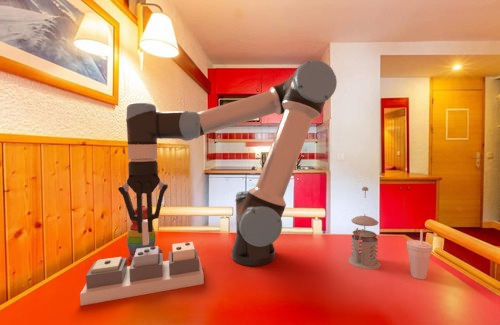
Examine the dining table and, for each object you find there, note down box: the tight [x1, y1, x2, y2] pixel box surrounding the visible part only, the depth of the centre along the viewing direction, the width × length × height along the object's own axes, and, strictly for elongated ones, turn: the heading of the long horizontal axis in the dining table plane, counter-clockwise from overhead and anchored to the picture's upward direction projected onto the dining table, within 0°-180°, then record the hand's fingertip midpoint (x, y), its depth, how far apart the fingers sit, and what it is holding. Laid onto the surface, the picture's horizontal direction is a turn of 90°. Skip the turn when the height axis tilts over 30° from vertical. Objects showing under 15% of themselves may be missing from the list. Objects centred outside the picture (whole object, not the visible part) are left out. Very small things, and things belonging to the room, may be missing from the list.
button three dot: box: [134, 245, 160, 267], centre depth 72 cm, size 6×6×4 cm
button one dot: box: [92, 256, 123, 273], centre depth 69 cm, size 6×6×4 cm
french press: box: [348, 186, 382, 270], centre depth 82 cm, size 10×12×25 cm
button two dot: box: [172, 241, 195, 262], centre depth 75 cm, size 6×6×4 cm
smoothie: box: [406, 228, 434, 280], centre depth 74 cm, size 6×6×14 cm
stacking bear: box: [126, 205, 163, 263], centre depth 90 cm, size 11×10×18 cm
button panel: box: [79, 247, 205, 306], centre depth 73 cm, size 30×12×6 cm, turn 108°
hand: (145, 243), depth 72 cm, fingers closed
